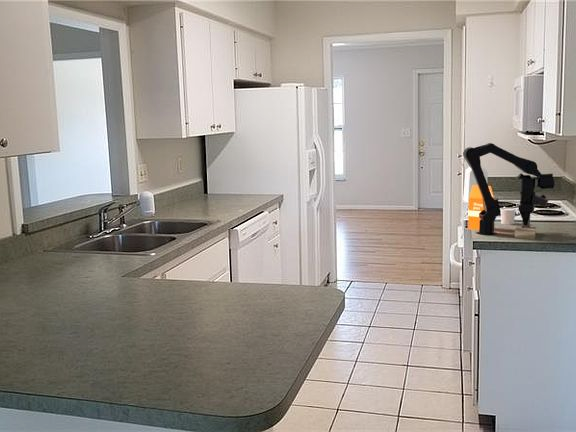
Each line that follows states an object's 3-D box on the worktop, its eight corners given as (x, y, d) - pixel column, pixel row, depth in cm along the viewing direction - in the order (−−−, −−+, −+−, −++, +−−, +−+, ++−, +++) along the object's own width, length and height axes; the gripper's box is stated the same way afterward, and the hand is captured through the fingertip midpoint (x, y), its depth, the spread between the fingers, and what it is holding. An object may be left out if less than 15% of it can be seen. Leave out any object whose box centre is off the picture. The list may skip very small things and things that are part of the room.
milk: (487, 203, 376) (489, 159, 372) (468, 203, 376) (469, 159, 372) (481, 200, 388) (483, 158, 384) (463, 200, 388) (464, 158, 384)
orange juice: (474, 226, 298) (476, 184, 294) (492, 228, 292) (494, 185, 289) (467, 228, 292) (469, 185, 288) (486, 230, 286) (487, 186, 283)
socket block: (534, 239, 265) (535, 232, 264) (514, 238, 268) (514, 231, 268) (535, 232, 280) (536, 226, 279) (516, 231, 283) (516, 225, 282)
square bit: (529, 231, 275) (530, 214, 274) (522, 230, 276) (522, 213, 275) (529, 230, 278) (530, 213, 276) (522, 229, 279) (523, 212, 278)
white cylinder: (503, 222, 309) (503, 207, 308) (517, 223, 305) (517, 209, 303) (497, 223, 304) (498, 209, 303) (512, 225, 299) (512, 210, 298)
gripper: (547, 192, 262) (545, 229, 265) (547, 187, 279) (546, 222, 282) (519, 191, 267) (517, 227, 269) (521, 186, 284) (519, 221, 286)
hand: (526, 224), depth 276 cm, fingers closed on square bit, 3 cm apart
